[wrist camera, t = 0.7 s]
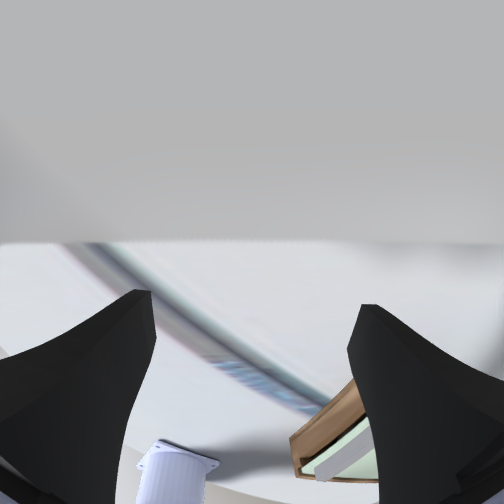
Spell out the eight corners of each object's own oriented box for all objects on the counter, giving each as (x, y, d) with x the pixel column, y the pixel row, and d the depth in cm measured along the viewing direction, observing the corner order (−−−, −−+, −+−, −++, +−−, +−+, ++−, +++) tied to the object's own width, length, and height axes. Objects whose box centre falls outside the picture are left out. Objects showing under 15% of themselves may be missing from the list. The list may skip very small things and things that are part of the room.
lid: (447, 423, 21) (456, 435, 19) (384, 475, 24) (389, 487, 22) (379, 405, 19) (389, 423, 17) (301, 468, 21) (304, 485, 19)
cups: (413, 400, 24) (423, 417, 22) (408, 418, 25) (417, 434, 23) (334, 429, 25) (341, 448, 22) (335, 445, 26) (341, 463, 23)
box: (436, 394, 26) (456, 422, 20) (370, 453, 28) (382, 482, 23) (366, 364, 23) (388, 404, 18) (289, 438, 26) (295, 477, 21)
